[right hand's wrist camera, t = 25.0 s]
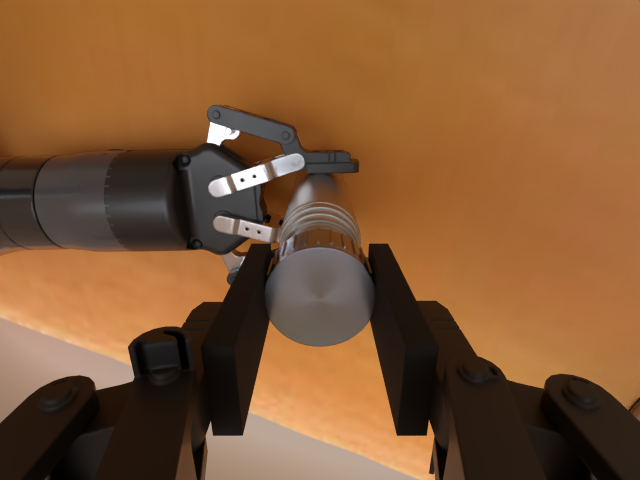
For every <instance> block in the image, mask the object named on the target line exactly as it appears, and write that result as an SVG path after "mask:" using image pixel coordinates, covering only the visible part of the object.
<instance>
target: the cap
mask: <svg viewBox="0 0 640 480" xmlns="http://www.w3.org/2000/svg"><path fill="white" fill-rule="evenodd" d="M371 274H373V273H372V270H371V267H370V263H369V260H368V257H365V255H364V253H363V250H362V248H361V247H359V246H358V245H357V244H356V243H355V242H354V240H353V239H352V240H351V239H350V238H348V237H347V236H345V235H344V234H343V233H342V234H341V233H338V232H335V231H332V230H323V229H320V228H319V229H316V230H309V231H307V230H305V232H302V233H299V234H297V235H296V234H295V235H294V236H293V237H291V238H290V239H288V240H287V241H284V243H283V245H282V246H281V247H280V248H279V249H277V250H276V253H275V256H274V258H273V259H271V262H270V265H269V268H268V271H267V274H266V276H268V277H267V280H266V283H265V286H264V290H265V307H266V313H267V315H268V317H269V319H270V321H271V322H272V324H273V325H274V326H275V327H276V329H277V330H278V331H280V332H281V333H282V334H283V335H285V336H286V337H287V338H289V339H291V340H293V341H295V342H298V343H301V344H304V345H309V346H320V347H321V346H331V345H335V344H339V343H342V342H344V341H347V340H349V339H350V338H352V337H354V336H355V335H356V334H358V333H359V332H360V331H361V330H362V329H363V328H364V327H365V326H366V325H367V323H368V322H369V320H370V318H371V317H372V314H373V312H374V301H375V284H374V281H373V278H372V275H371Z"/></svg>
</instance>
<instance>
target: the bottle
mask: <svg viewBox="0 0 640 480" xmlns="http://www.w3.org/2000/svg"><path fill="white" fill-rule="evenodd" d="M319 228H320V229H323V230H332V231H335V232H338V233H341V234H342V233H343V234H344V235H345V236H347V237H348V238H350V239H351V240H352V239H353V240H354V242H355V243H356V244H357V245H358V246H359V247H361V239H360V231H359V227H358V224H357V221H356V218H355V215H354V212H353V209H352V205H351V202H350V199H349V196H348V193H347V190H346V187H345V184H344V181H343V178H342V174H341V173H316V174H307V170H300V171H299V174H298V177H297V180H296V183H295V186H294V189H293V192H292V195H291V198H290V201H289V205H288V208H287V211H286V214H285V217H284V220H283V223H282V226H281V229H280V234H279V248H280V247H281V246H282V245H283V243H284V241H287V240H288V239H290V238H291V237H293V236H294V235H295V234H296V235H297V234H299V233H302V232H305V230H307V231H309V230H316V229H319Z"/></svg>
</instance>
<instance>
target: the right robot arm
mask: <svg viewBox="0 0 640 480" xmlns="http://www.w3.org/2000/svg"><path fill="white" fill-rule="evenodd" d="M368 260H369V263H370V267H371V270H372V273H373V274H371V275H372V278H373V281H374V284H375V301H374V312H373V314H372V317H371V318H370V322H371V327H372V331H373V335H374V340H375V344H376V348H377V352H378V357H379V361H380V365H381V370H382V374H383V378H384V382H385V387H386V391H387V395H388V399H389V404H390V408H391V412H392V417H393V421H394V425H395V429H396V434H397V436H427V429H428V422H429V421H430V423H431V426H432V429H433V432H434V435H435V437H434V443H433V450H432V457H431V463H430V470H429V473H430V474H434V471H435V480H595V479H597V480H640V400H639V401H638V402H637V403H636V404H635V406H634V407H633V408H632V409H631V411H630V412H629V411H628V410H627V409H626V408H625V407H624V406H623V405H622V404H621V403H620V402H619V401H618V400H616V399H615V398H614V397H613V396H612V395H611V394H610V393H608V392H607V391H606V390H604V389H603V388H602V387H600V386H599V385H597V384H595V383H593V382H591V381H589V380H587V379H584V378H581V377H577V376H574V375H567V374H557V375H552V376H550V377H549V378H548V379H547V380H546V382H545V385H544V389H542V388H537V387H533V386H529V385H524V384H520V383H516V382H512V381H509V380H507V379H506V377H505V375H504V374H503V372H502V371H501V370H500V368H498V367H497V366H496V365H494V364H493V363H492V362H490V361H488V360H486V359H483V358H481V357H478V356H477V355H476V353H475V352H474V350H473V349H472V347H471V345H470V344H469V342H468V341H467V339H466V338H465V336H464V334H463V333H462V331H461V330H460V329H459V326H458V325H457V323H456V322H455V321H454V318H453V317H452V315H451V314H450V312H449V311H448V309H447V308H445V307H444V306H442V305H441V304H440V303H438V302H437V301H416V299H415V297H414V295H413V293H412V291H411V289H410V287H409V285H408V283H407V281H406V279H405V277H404V275H403V273H402V271H401V269H400V267H399V265H398V263H397V261H396V259H395V257H394V255H393V253H392V251H391V249H390V247H389V245H388V244H369V255H368ZM270 262H271V244H251V246H250V248H249V250H248V252H247V254H246V256H245V258H244V260H243V262H242V264H241V266H240V268H239V270H238V272H237V274H236V276H235V278H234V280H233V282H232V284H231V286H230V288H229V290H228V293H227V295H226V297H225V299H224V301H223V302H203V303H202V304H200V305H199V306H198V307H196V308H195V309H193V310H192V311H191V313H190V315H189V316H188V318H187V319H186V322H185V323H184V324H183V326H182V327H181V328H180V327H161V328H156V329H153V330H150V331H148V332H145V333H143V334H141V335H140V336H138V337H137V338H136V339H134V340H133V341H132V342H131V344H130V345H129V346H128V350H129V354H130V359H131V363H132V367H133V372H134V376H135V378H134V380H133V381H132V382H129V383H126V384H122V385H118V386H114V387H109V388H105V389H100V390H96V387H95V384H94V382H93V381H92V380H91V379H90V378H89V377H85V376H80V375H79V376H70V377H65V378H61V379H58V380H55V381H53V382H51V383H49V384H47V385H45V386H43V387H41V388H39V389H38V390H37V391H35V392H34V393H33V394H31V395H30V396H29V397H28V398H27V399H25V400H24V401H23V402H22V403H21V404H20V405H19V406H18V407H17V408H16V409H15V410H14V411H13V412H12V413H11V414H10V415H9V416H8V417H6V418H5V419H4V420H3V421H2V422H1V423H0V480H205V471H206V462H207V452H208V451H207V444H206V437H205V436H206V433H207V430H208V427H209V424H210V421H211V424H212V432H213V435H214V436H242V435H243V432H244V428H245V424H246V419H247V415H248V411H249V406H250V402H251V398H252V394H253V389H254V385H255V381H256V376H257V372H258V368H259V364H260V359H261V355H262V351H263V347H264V342H265V338H266V334H267V329H268V325H269V321H270V319H269V317H268V315H267V313H266V307H265V290H264V286H265V283H266V280H267V277H268V276H266V274H267V271H268V268H269V265H270Z"/></svg>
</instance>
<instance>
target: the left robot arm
mask: <svg viewBox="0 0 640 480" xmlns="http://www.w3.org/2000/svg"><path fill="white" fill-rule="evenodd" d="M207 116H208V119H209V120H210V121H211V122H210V128H209V134H208V139H207V143H204V144H201V145H200V146H198V147H197V148H195V149H179V150H127V151H125V150H121V149H110V150H108V151H91V152H82V153H76V154H70V155H60V156H9V157H0V256H1V255H5V254H8V253H12V252H16V251H21V250H47V249H78V250H87V251H96V252H126V251H185V250H198V249H203V250H207V251H210V252H212V253H214V254H217V255H221V256H222V258H223V260H224V262H225V264H226V266H227V268H228V271H229V275H228V277H227V282H228V283H229V284H230V285H231V284H232V282H233V280H234V278H235V276H236V274H237V272H238V270H239V268H240V266H241V264H242V262H243V260H244V258H245V256H246V254H247V252H239V251H237V250H236V248H237V247H238V246H240V245H241V244H242V243H244V242H245V241H246V240H248V239H249V238H252V239H256V240H260V241H264V242H268V243H274V242H278V243H279V234H280V229H281V226H282V223H283V220H284V218H282V217H281V216H280V215H277V214H273V213H270V212H267V206H266V203H265V200H264V198H263V194H264V189H265V182H267V181H270V180H273V179H275V178H277V177H280V176H283V175H286V174H289V173H292V172H295V171H298V170H307V174H316V173H356V172H359V161H358V160H357V159H351V155H350V153H349V152H346V151H344V150H317V151H309V150H306V149H304V148H303V147H302V146H301V144H300V141H299V139H298V136H297V131H296V129H295V127H294V126H292V125H289V124H286V123H283V122H279V121H276V120H273V119H269V118H266V117H263V116H259V115H256V114H253V113H250V112H246V111H243V110H240V109H236V108H233V107H230V106H226V105H213V106H211V107H210V108H209V109H208V111H207ZM242 132H244V133H247V134H250V135H254V136H257V137H260V138H264V139H267V140H270V141H274V142H277V143H280V145H281V147H282V149H283V152H284V154H281V155H278V156H274V157H270V158H267V159H264V160H261V161H258V162H255V163H252V164H251V163H250V162H248V161H247V160H245V159H244V158H242V157H241V156H239V155H238V154H236V153H235V152H233V151H232V150H230V149H229V148H227V147H226V146H224V145H223V143H224V141H225V140H226V139H236V138H238V137H240V135H241V134H242ZM265 219H266V220H265ZM259 231H260V232H259ZM277 249H279V248H277ZM277 249H274V250H271V259H273V258H274V256H275V253H276V250H277Z"/></svg>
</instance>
